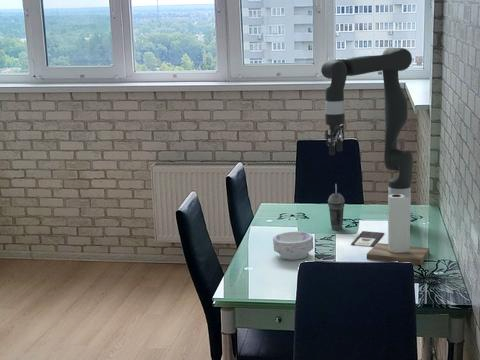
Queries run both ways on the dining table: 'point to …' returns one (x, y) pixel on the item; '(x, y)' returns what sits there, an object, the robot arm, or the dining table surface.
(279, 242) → the grey marble bowl
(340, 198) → the beverage cup
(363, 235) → the chocolate bar
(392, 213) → the paper towel roll
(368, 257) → the walnut board
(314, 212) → the dining table surface
